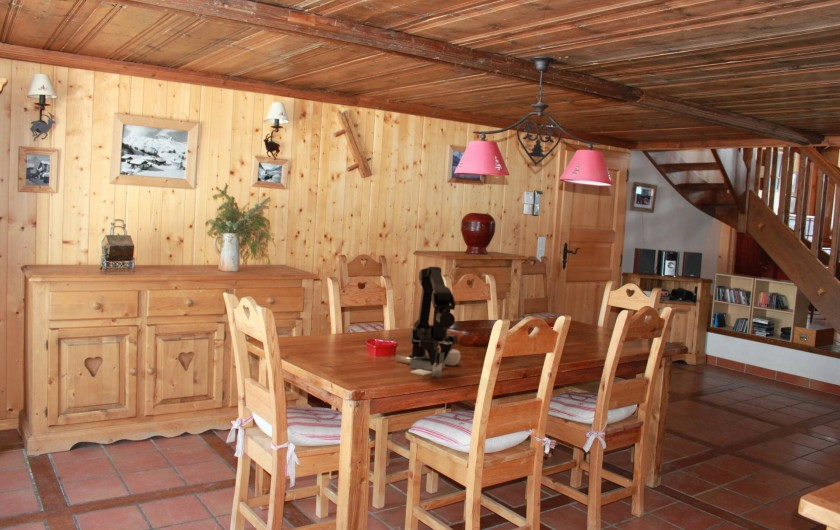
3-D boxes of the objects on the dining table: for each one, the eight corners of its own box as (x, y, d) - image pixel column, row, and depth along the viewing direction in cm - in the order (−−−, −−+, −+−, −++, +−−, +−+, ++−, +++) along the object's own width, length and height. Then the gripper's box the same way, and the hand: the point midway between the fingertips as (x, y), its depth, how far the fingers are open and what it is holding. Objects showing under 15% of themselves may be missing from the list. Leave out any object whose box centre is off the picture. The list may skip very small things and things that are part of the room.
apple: (439, 365, 292) (441, 350, 291) (441, 362, 299) (443, 346, 299) (459, 367, 291) (460, 351, 290) (460, 363, 298) (462, 348, 298)
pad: (419, 370, 281) (419, 368, 281) (432, 373, 278) (432, 371, 278) (410, 372, 276) (410, 371, 276) (423, 375, 273) (423, 374, 272)
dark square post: (435, 374, 275) (436, 350, 274) (442, 376, 273) (444, 352, 273) (430, 376, 272) (432, 351, 272) (438, 378, 271) (439, 353, 270)
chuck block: (403, 359, 298) (404, 351, 298) (444, 368, 287) (445, 359, 287) (389, 363, 290) (390, 354, 290) (431, 372, 279) (431, 363, 279)
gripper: (435, 317, 283) (432, 356, 285) (409, 322, 268) (406, 363, 269) (459, 321, 277) (456, 361, 279) (434, 326, 262) (431, 368, 263)
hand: (437, 363), depth 272 cm, fingers open, 7 cm apart
